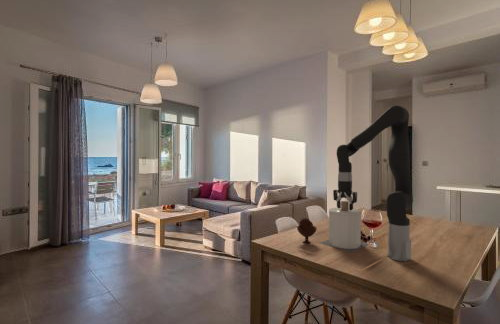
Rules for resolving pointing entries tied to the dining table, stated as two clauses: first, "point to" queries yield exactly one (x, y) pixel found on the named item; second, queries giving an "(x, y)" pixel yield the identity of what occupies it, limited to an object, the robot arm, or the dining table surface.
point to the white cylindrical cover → (345, 227)
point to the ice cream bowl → (306, 229)
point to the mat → (343, 248)
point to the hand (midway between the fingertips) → (344, 209)
